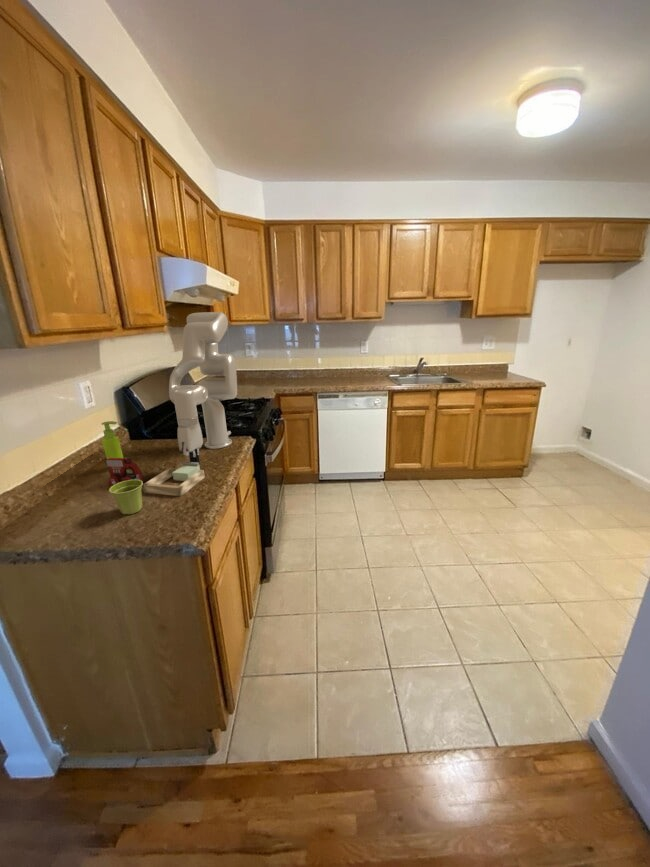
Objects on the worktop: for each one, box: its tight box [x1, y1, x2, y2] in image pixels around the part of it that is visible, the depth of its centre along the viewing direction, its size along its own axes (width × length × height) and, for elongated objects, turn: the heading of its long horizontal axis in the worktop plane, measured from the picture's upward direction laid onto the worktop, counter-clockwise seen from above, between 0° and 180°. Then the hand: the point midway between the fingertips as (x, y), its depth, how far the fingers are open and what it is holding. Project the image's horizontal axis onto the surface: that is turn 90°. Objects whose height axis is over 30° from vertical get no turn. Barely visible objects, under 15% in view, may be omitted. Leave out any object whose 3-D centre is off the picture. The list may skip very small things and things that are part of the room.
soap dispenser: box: [101, 420, 124, 460], centre depth 144 cm, size 6×7×20 cm
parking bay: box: [142, 467, 206, 497], centre depth 130 cm, size 15×15×3 cm
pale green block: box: [172, 461, 201, 482], centre depth 136 cm, size 8×6×4 cm
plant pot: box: [108, 480, 144, 515], centre depth 113 cm, size 9×9×9 cm
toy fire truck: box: [105, 457, 144, 487], centre depth 131 cm, size 7×12×10 cm, turn 82°
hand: (195, 464), depth 142 cm, fingers closed
